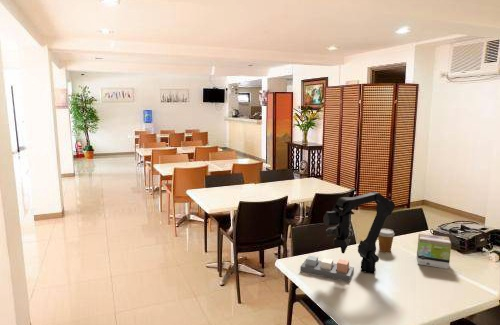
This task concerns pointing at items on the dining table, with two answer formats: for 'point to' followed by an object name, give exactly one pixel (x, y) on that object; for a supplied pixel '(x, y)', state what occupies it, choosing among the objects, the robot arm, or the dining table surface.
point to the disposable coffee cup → (385, 240)
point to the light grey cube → (312, 261)
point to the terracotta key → (343, 266)
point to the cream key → (327, 264)
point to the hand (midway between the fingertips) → (343, 253)
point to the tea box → (433, 251)
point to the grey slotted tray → (327, 271)
